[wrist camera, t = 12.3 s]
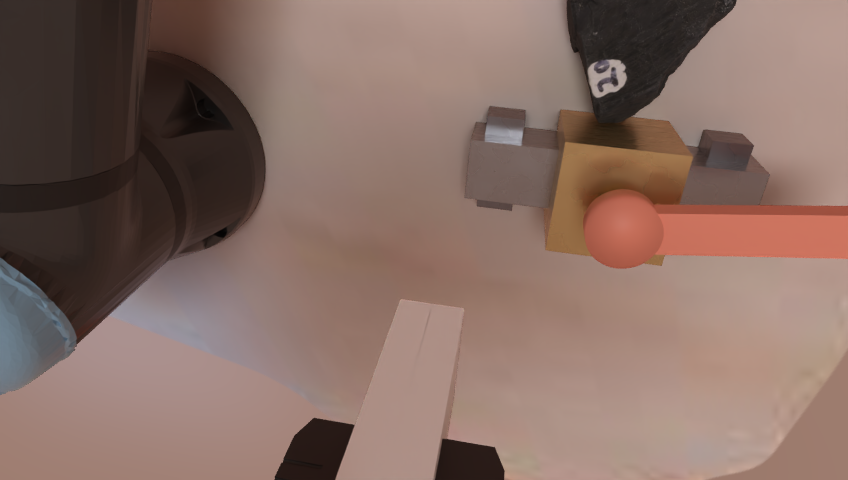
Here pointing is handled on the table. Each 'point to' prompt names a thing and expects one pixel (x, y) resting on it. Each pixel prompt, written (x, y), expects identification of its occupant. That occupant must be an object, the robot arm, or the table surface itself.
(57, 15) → the robot arm
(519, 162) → the valve
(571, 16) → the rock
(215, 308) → the table surface
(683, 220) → the lever
